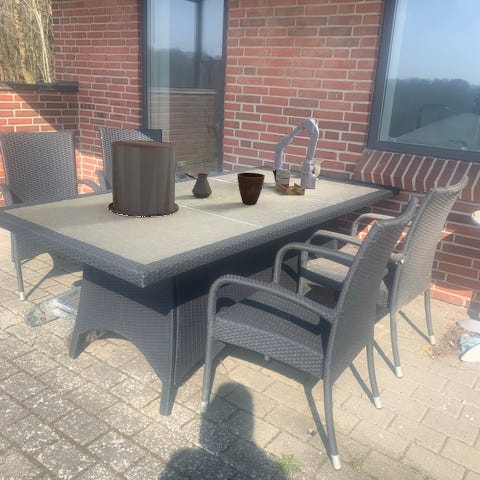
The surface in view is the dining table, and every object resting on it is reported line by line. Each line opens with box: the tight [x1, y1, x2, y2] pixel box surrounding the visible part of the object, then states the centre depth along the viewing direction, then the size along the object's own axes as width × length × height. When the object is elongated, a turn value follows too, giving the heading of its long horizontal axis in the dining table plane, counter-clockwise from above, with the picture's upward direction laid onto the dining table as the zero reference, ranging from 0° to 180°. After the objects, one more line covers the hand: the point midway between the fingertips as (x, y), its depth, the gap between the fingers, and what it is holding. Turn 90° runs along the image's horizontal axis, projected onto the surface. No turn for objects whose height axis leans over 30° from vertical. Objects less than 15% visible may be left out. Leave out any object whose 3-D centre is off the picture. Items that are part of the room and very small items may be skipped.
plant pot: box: [236, 172, 266, 206], centre depth 274 cm, size 15×15×16 cm
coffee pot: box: [182, 172, 213, 199], centre depth 281 cm, size 21×12×15 cm, turn 144°
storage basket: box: [107, 139, 180, 218], centre depth 249 cm, size 35×35×32 cm
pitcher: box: [299, 158, 325, 179], centre depth 365 cm, size 11×18×14 cm, turn 64°
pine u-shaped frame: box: [275, 182, 306, 196], centre depth 313 cm, size 13×17×4 cm
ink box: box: [274, 167, 291, 188], centre depth 325 cm, size 8×5×12 cm, turn 39°
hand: (276, 181), depth 337 cm, fingers closed
